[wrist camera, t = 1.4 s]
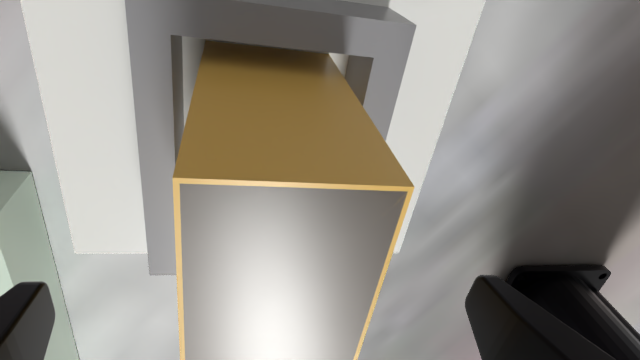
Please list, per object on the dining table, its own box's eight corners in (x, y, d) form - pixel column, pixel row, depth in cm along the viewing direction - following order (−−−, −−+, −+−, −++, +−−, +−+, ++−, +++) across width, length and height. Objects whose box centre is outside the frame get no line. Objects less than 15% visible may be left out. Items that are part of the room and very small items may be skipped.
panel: (478, -26, 14) (540, -10, 11) (392, 239, 20) (417, 293, 17) (14, -105, 11) (-65, -112, 8) (82, 237, 17) (51, 303, 14)
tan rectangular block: (328, 54, 14) (414, 186, 7) (304, 199, 17) (348, 384, 10) (205, 40, 13) (172, 178, 6) (204, 196, 16) (181, 398, 9)
